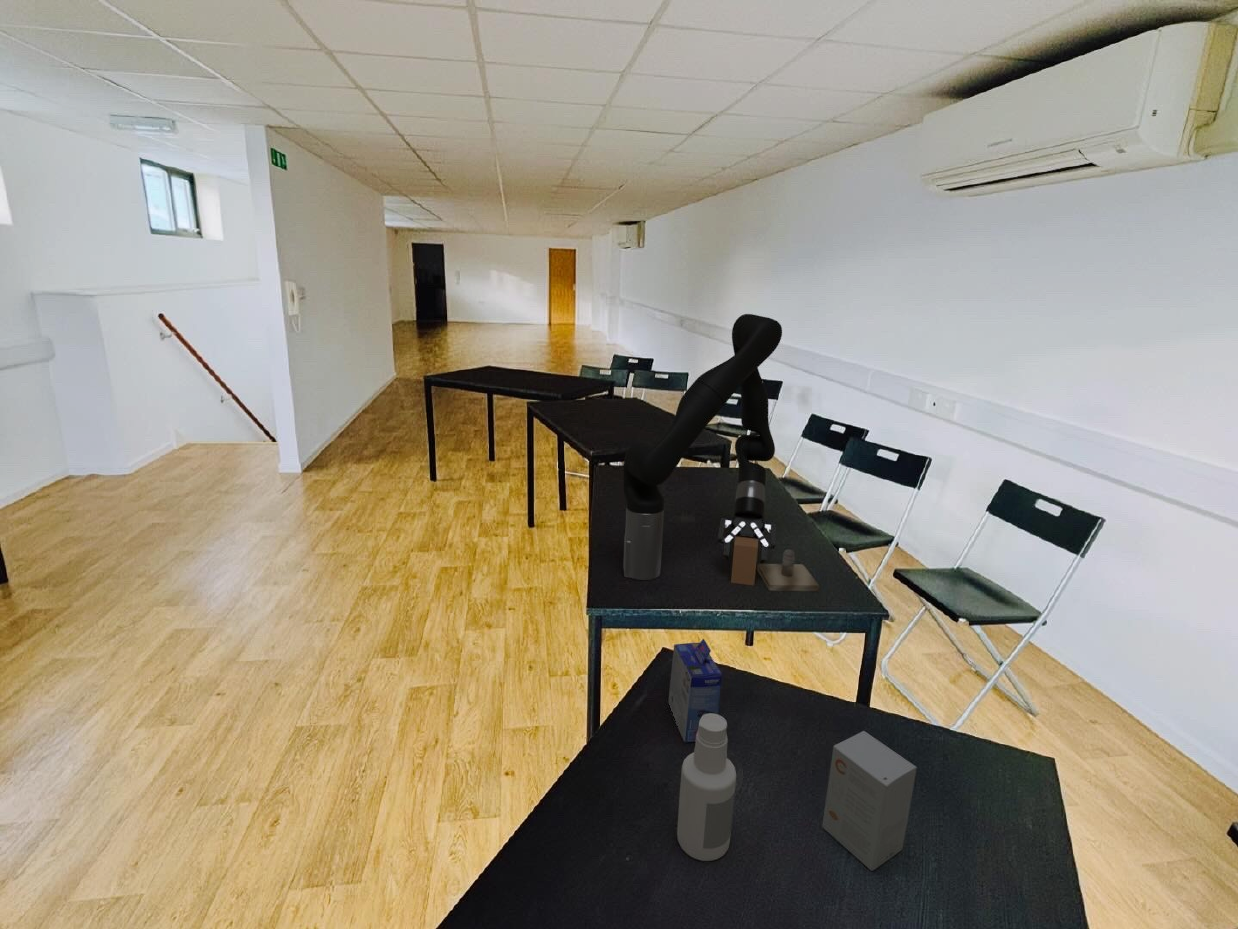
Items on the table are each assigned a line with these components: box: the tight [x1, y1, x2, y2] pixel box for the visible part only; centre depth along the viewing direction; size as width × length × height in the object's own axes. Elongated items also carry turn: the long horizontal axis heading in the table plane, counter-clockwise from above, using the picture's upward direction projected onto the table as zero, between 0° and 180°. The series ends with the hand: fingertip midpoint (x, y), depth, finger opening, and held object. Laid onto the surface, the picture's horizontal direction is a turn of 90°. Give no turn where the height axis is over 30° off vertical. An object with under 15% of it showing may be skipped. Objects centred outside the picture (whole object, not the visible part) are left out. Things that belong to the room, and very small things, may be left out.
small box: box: [821, 730, 917, 872], centre depth 82 cm, size 8×6×13 cm
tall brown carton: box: [730, 536, 759, 586], centre depth 156 cm, size 6×6×10 cm
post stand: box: [756, 548, 820, 592], centre depth 157 cm, size 12×12×8 cm
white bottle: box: [676, 713, 737, 862], centre depth 80 cm, size 7×7×18 cm
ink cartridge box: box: [667, 638, 723, 743], centre depth 103 cm, size 10×6×14 cm, turn 12°
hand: (744, 560), depth 156 cm, fingers open, 8 cm apart
